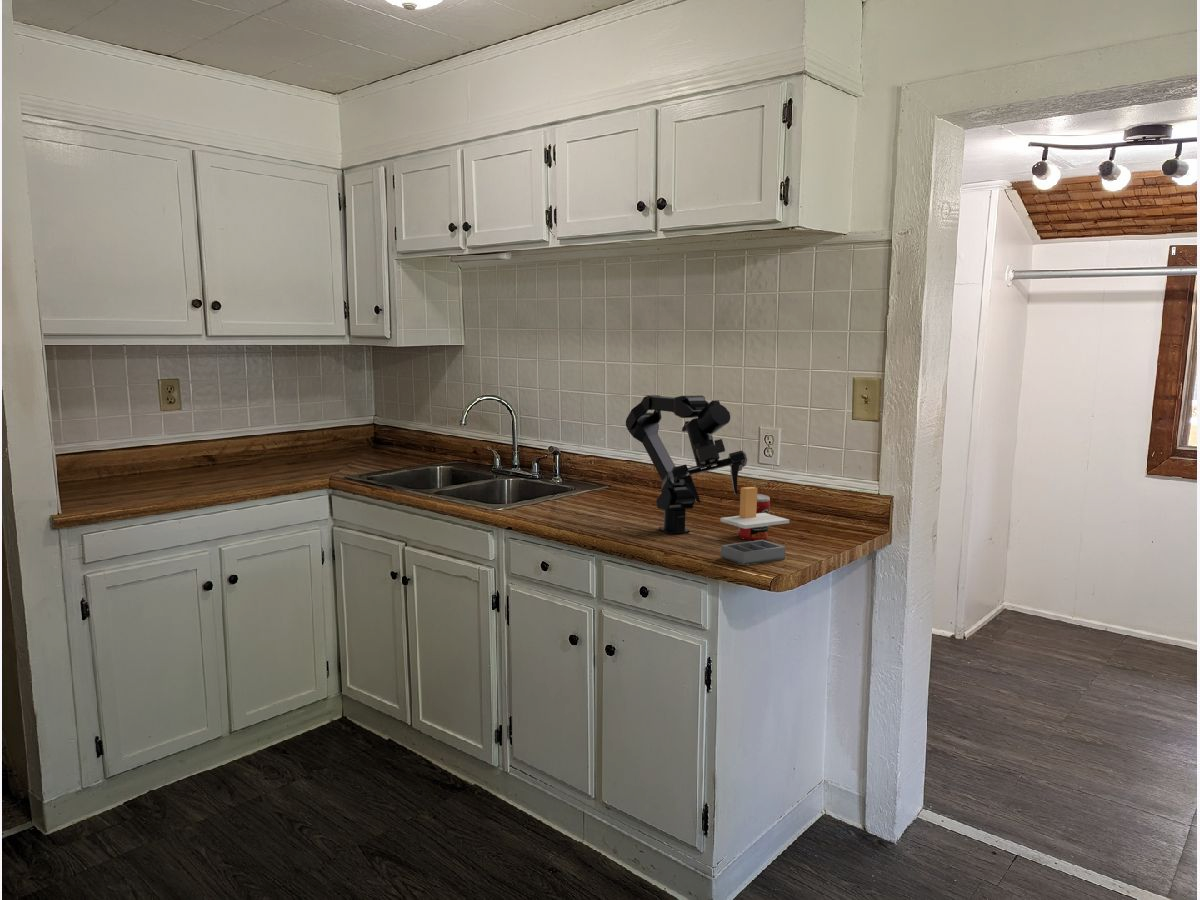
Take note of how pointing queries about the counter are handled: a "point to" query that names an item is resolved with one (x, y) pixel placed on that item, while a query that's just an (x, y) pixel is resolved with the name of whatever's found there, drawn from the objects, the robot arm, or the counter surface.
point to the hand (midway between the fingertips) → (718, 499)
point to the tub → (753, 552)
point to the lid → (752, 512)
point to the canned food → (757, 532)
